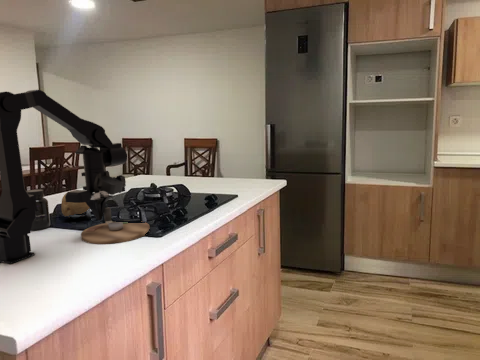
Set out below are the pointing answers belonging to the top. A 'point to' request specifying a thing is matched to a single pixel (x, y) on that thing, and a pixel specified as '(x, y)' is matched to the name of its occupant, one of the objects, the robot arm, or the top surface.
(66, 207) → the natural sponge
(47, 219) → the supplement bottle
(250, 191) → the top surface
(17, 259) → the robot arm
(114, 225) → the multicoloured piece
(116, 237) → the round wooden board
